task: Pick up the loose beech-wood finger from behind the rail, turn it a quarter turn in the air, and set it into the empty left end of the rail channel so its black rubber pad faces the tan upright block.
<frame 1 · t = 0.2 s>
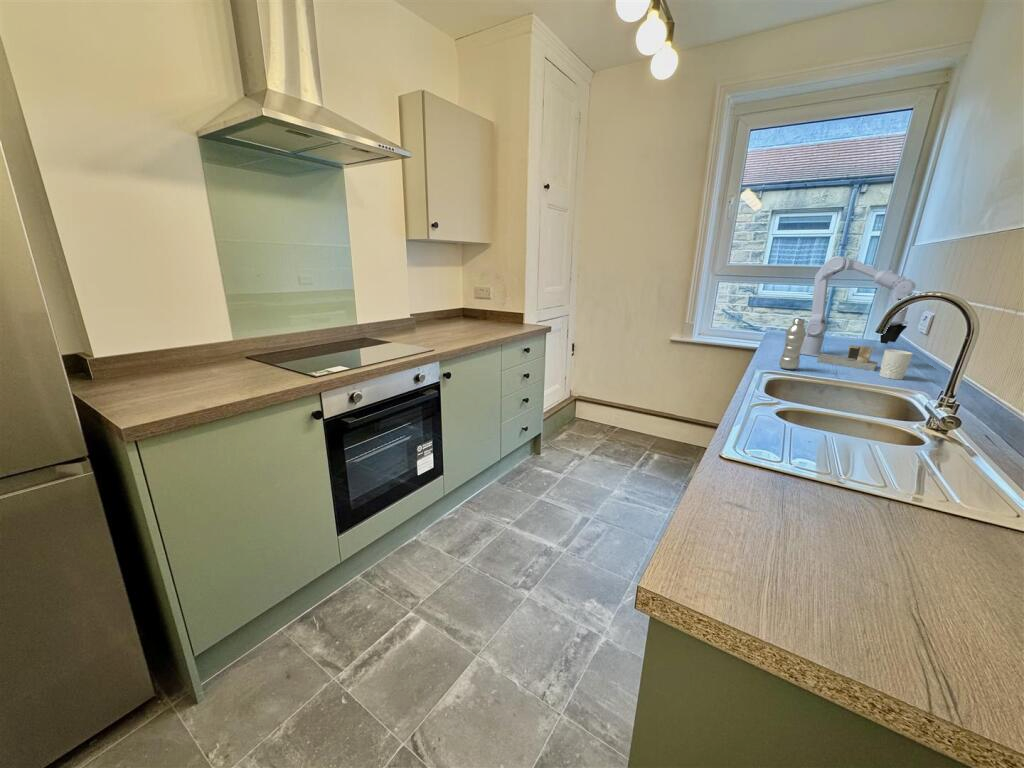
hand: (887, 342, 171), 10 cm above the counter, tool pointing down, fingers open, 7 cm apart
white cup: (890, 377, 155), on the counter
plastic bottle: (787, 369, 163), on the counter
rail: (845, 364, 173), on the counter
tan upright block: (861, 363, 169), resting on rail
loose finger: (851, 362, 178), on the counter
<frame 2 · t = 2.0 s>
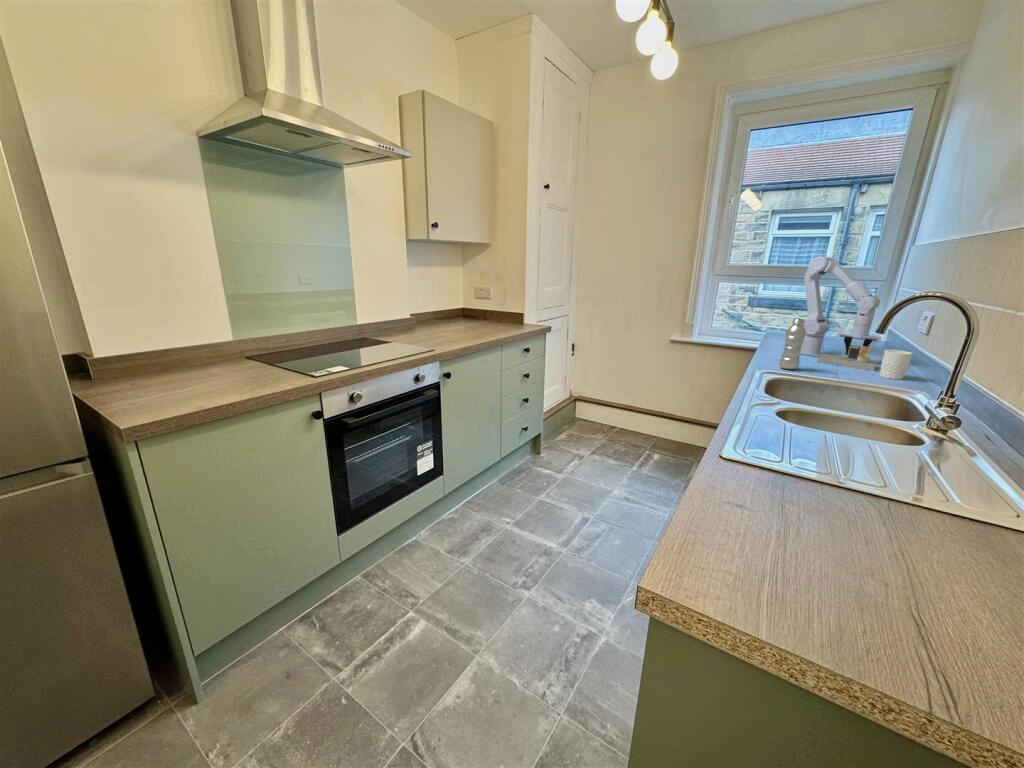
hand: (853, 355, 178), 3 cm above the counter, tool pointing down, fingers closed on loose finger, 4 cm apart
loose finger: (851, 362, 178), on the counter, touching gripper
everything else where it was.
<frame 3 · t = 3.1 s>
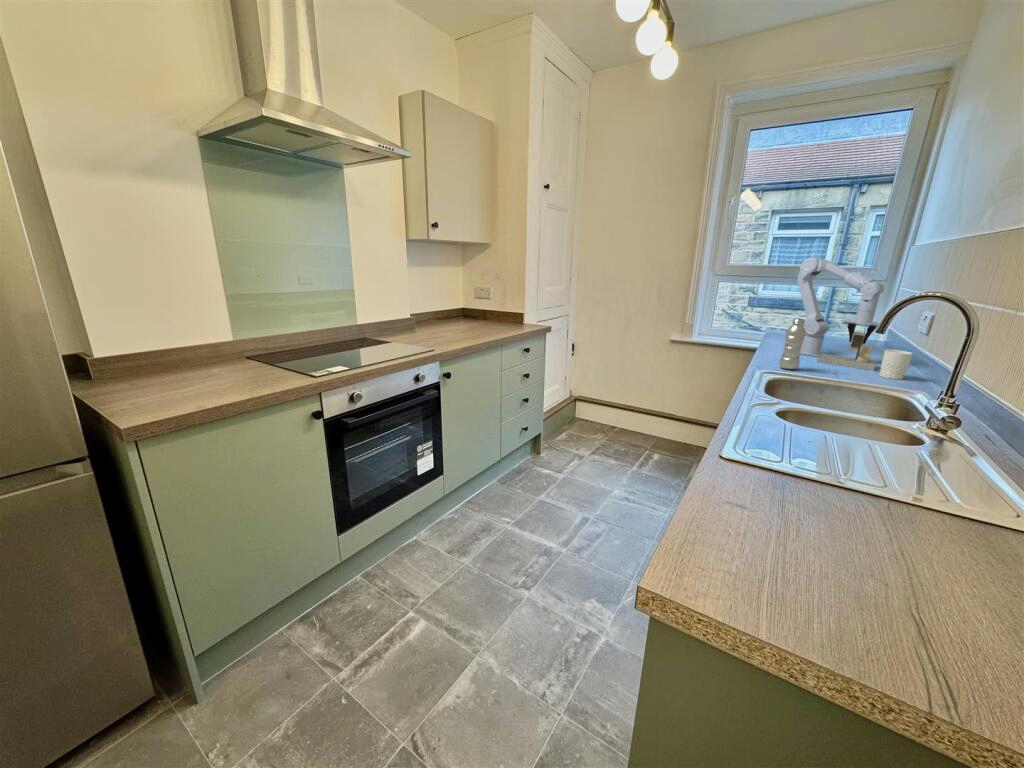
hand: (857, 342, 176), 9 cm above the counter, tool pointing down, fingers closed on loose finger, 4 cm apart
loose finger: (855, 349, 177), point 6 cm above the counter, touching gripper
everything else where it was.
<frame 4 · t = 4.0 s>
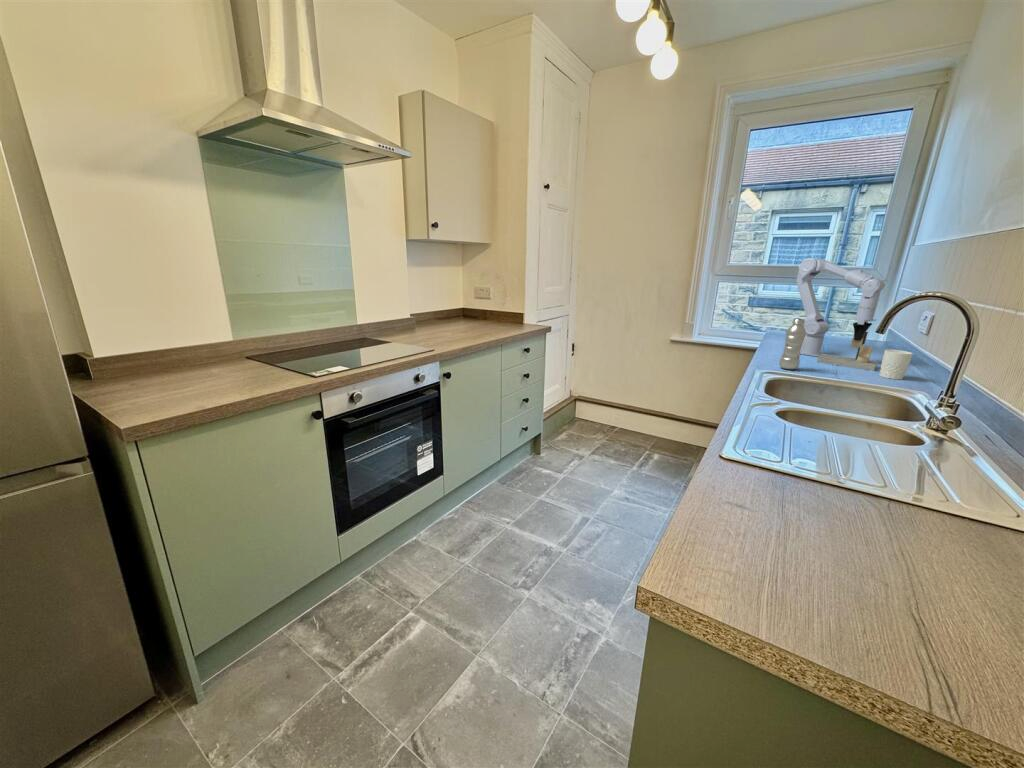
hand: (858, 339, 175), 10 cm above the counter, tool pointing down, fingers closed on loose finger, 4 cm apart
loose finger: (856, 346, 176), point 7 cm above the counter, touching gripper
everything else where it was.
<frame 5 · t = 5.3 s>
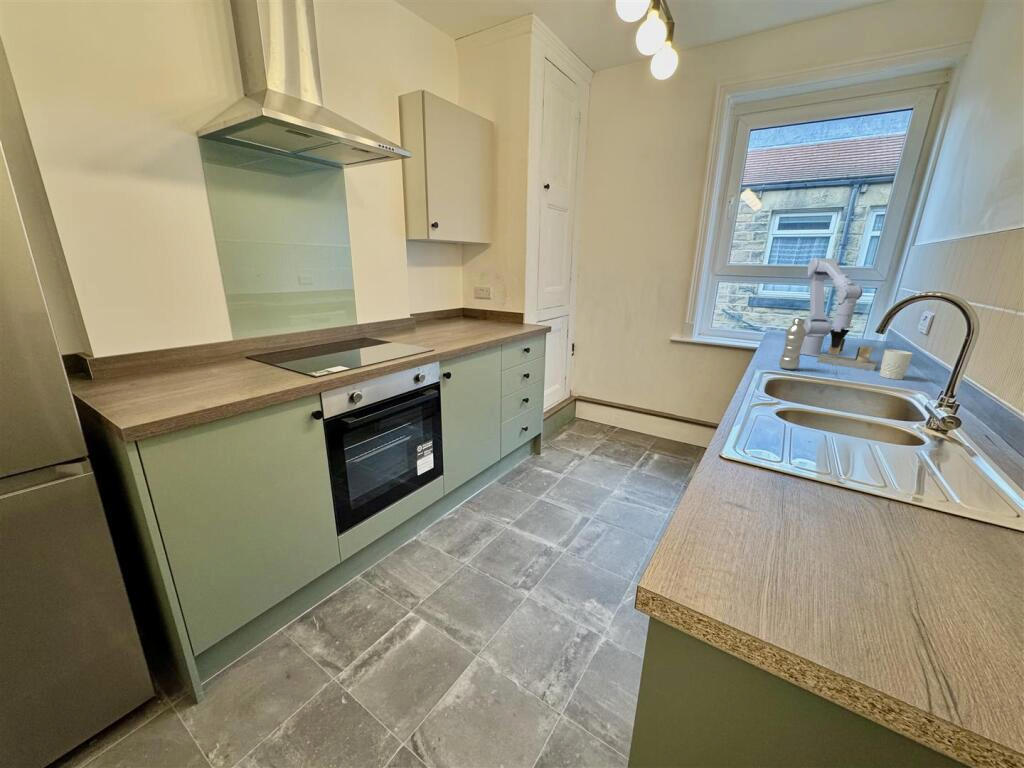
hand: (835, 346, 174), 7 cm above the counter, tool pointing down, fingers closed on loose finger, 4 cm apart
loose finger: (833, 353, 175), point 4 cm above the counter, touching gripper
everything else where it was.
when the fingers open (5 cm above the counter, at t = 6.1 s): loose finger stays where it is, resting on rail.
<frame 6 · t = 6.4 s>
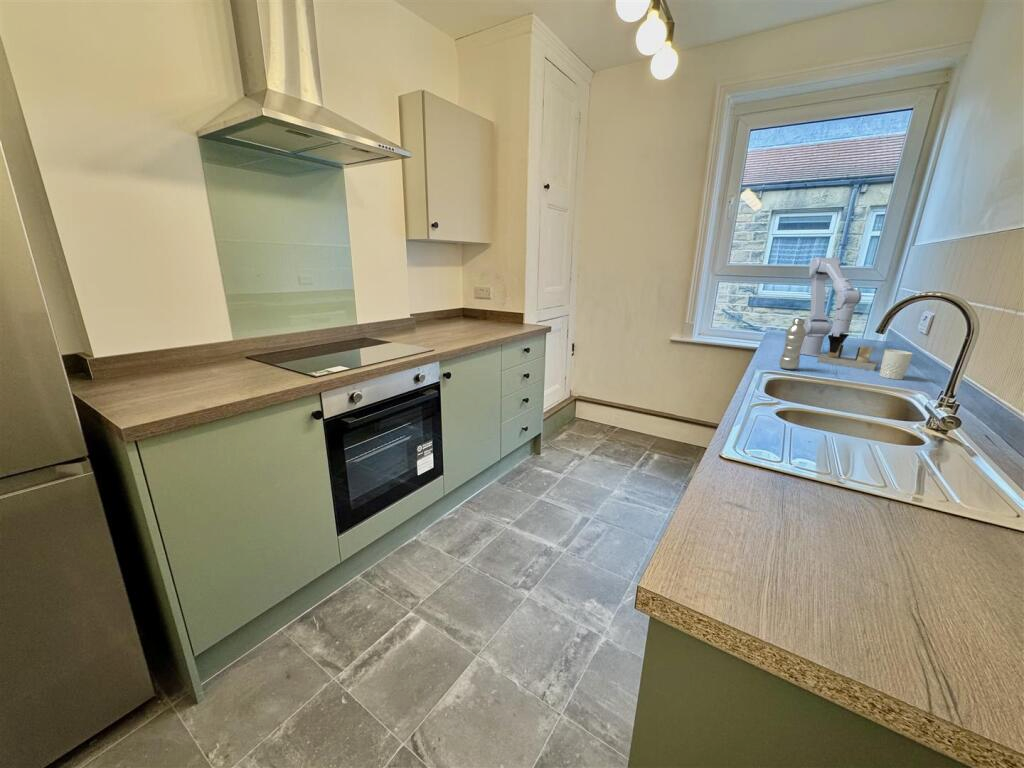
hand: (834, 351, 175), 5 cm above the counter, tool pointing down, fingers open, 7 cm apart
loose finger: (832, 359, 176), point 1 cm above the counter, touching rail
everything else where it was.
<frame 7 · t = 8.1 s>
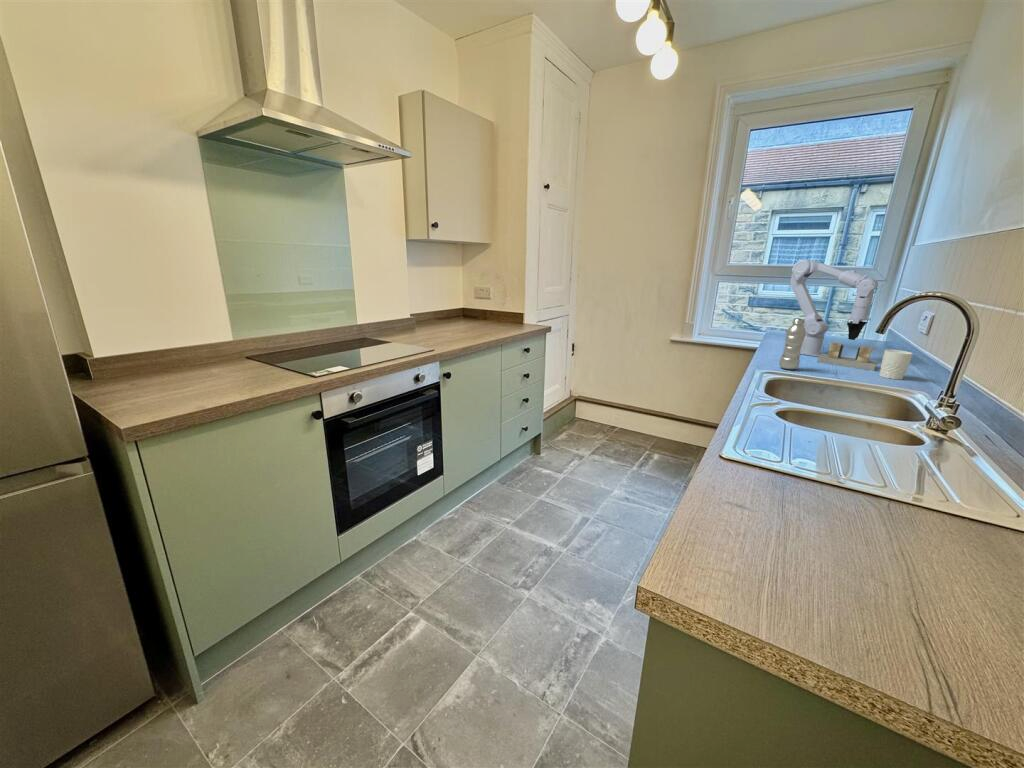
hand: (852, 338, 178), 10 cm above the counter, tool pointing down, fingers open, 7 cm apart
nothing on the counter moved.
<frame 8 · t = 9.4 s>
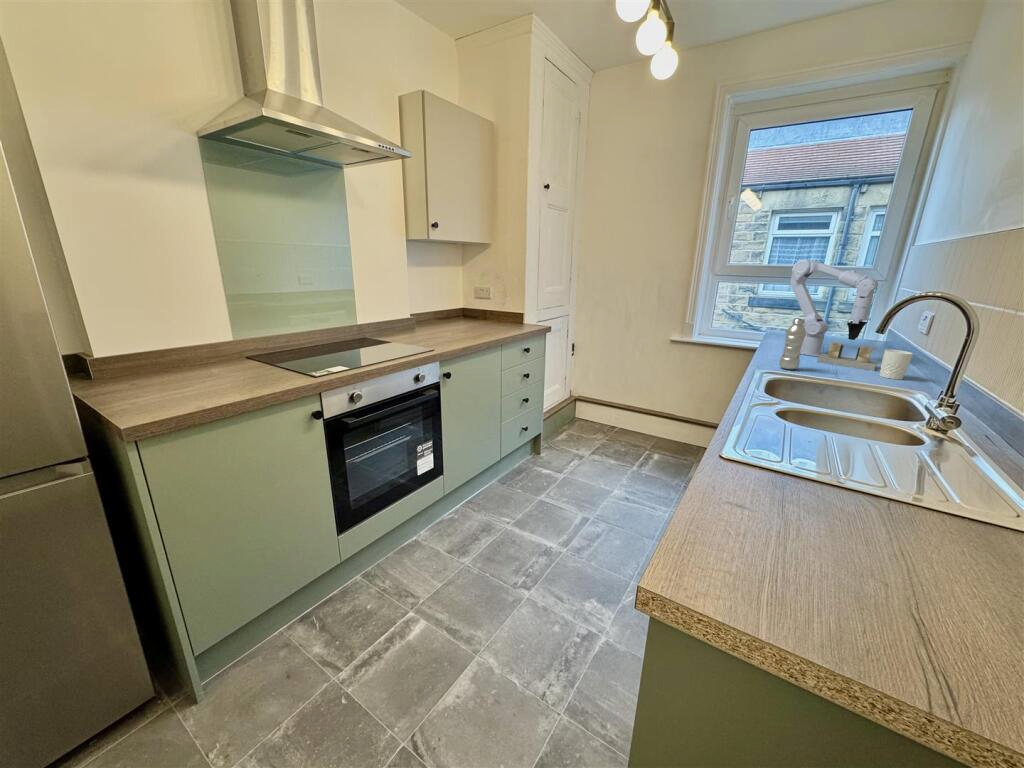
hand: (852, 338, 178), 10 cm above the counter, tool pointing down, fingers open, 7 cm apart
nothing on the counter moved.
at the end: loose finger 0.1 cm from the target spot, point 1.5 cm above the counter; loose finger tilted 0°; the gripper is holding nothing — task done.
